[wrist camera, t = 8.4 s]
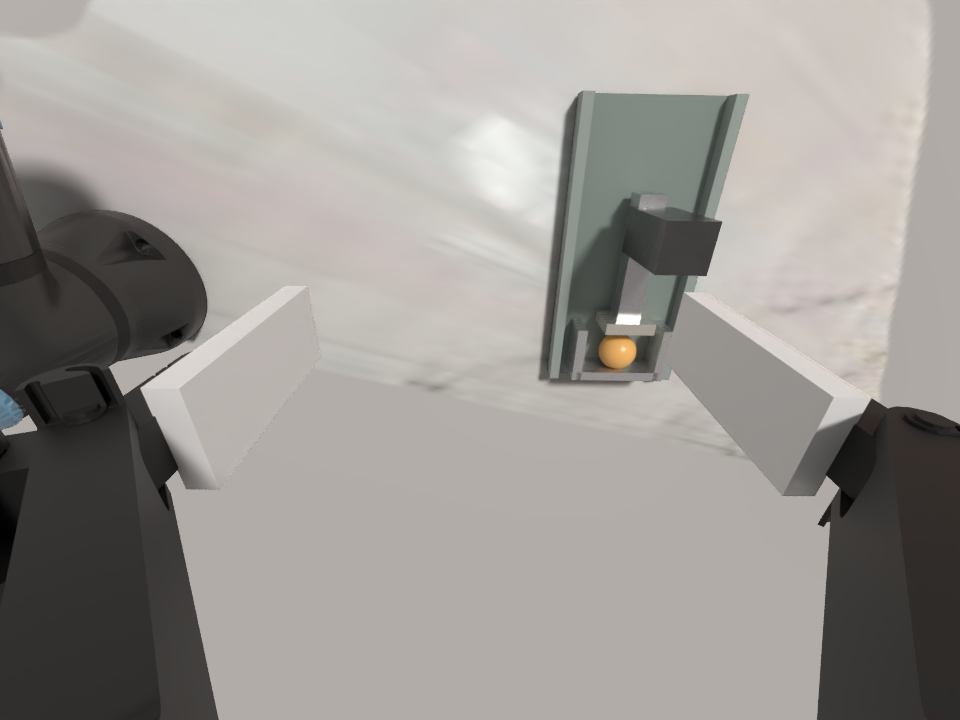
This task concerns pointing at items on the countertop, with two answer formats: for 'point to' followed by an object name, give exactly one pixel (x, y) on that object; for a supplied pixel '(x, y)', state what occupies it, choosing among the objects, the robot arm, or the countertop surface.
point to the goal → (636, 371)
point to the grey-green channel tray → (607, 193)
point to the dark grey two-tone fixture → (655, 258)
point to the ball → (617, 351)
